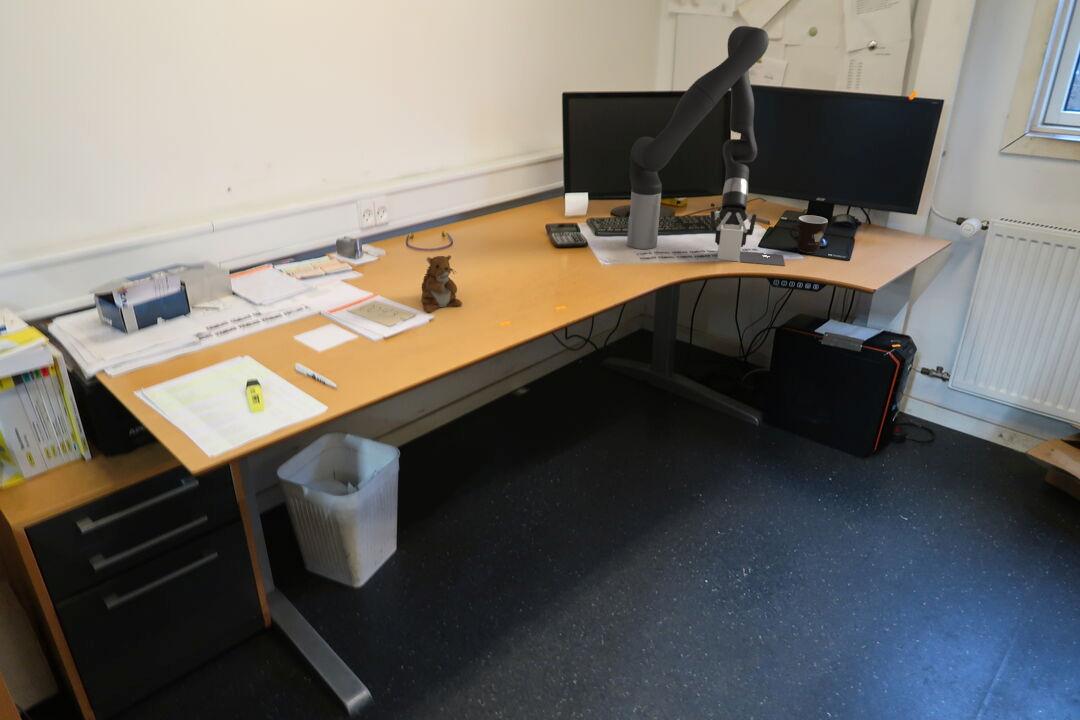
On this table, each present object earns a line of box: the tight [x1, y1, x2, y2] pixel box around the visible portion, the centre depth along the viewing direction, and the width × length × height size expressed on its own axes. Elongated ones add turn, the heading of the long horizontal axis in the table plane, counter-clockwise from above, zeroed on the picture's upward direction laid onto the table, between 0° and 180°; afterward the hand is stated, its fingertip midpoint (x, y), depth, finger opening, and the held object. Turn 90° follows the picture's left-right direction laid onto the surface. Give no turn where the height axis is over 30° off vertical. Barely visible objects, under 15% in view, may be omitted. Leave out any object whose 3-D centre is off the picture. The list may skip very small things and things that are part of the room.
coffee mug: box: [789, 214, 829, 252], centre depth 233 cm, size 12×9×10 cm
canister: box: [716, 224, 743, 262], centre depth 226 cm, size 6×6×10 cm
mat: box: [739, 250, 786, 267], centre depth 227 cm, size 13×10×1 cm
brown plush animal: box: [421, 254, 463, 314], centre depth 192 cm, size 10×14×13 cm
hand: (730, 244), depth 225 cm, fingers closed on canister, 6 cm apart
